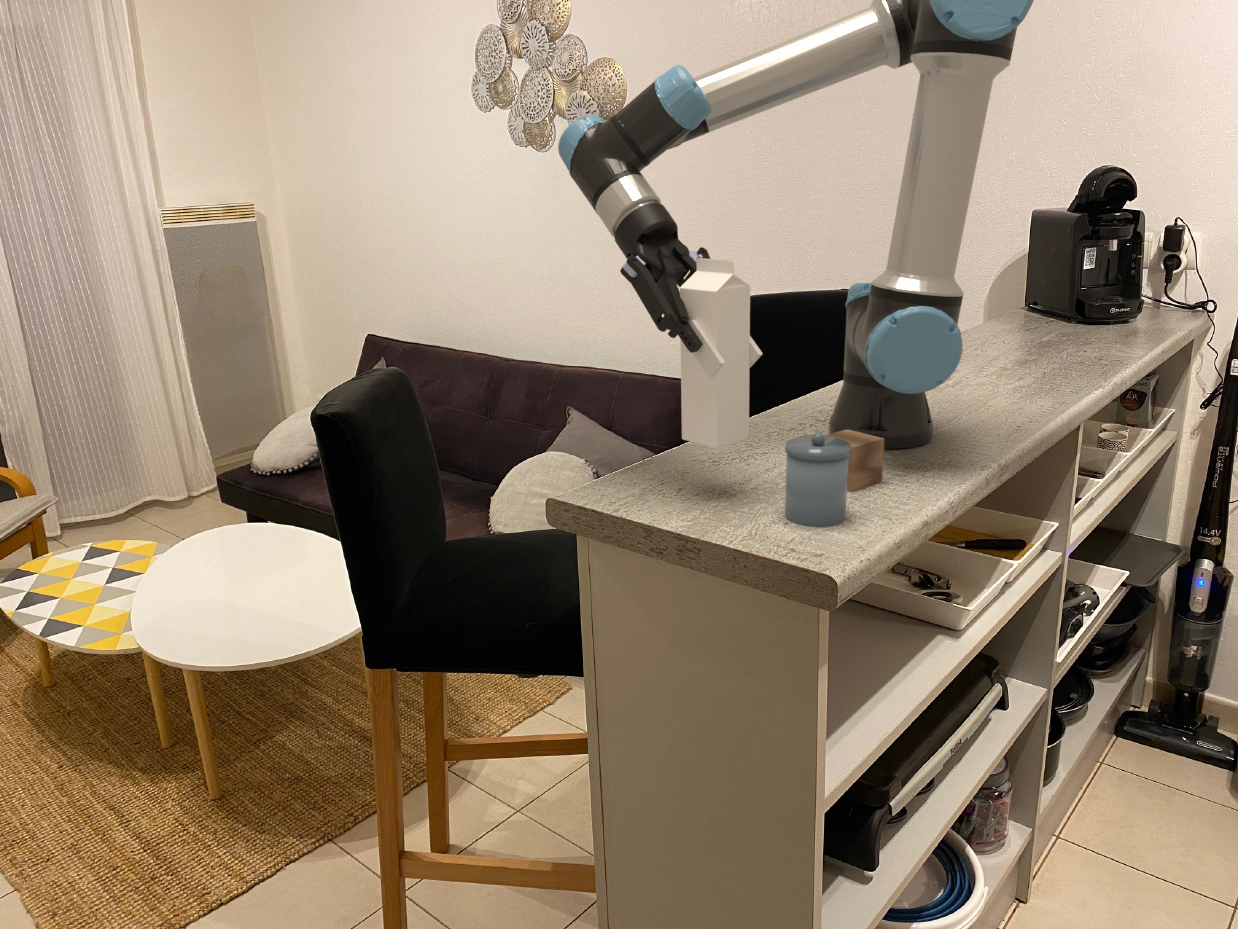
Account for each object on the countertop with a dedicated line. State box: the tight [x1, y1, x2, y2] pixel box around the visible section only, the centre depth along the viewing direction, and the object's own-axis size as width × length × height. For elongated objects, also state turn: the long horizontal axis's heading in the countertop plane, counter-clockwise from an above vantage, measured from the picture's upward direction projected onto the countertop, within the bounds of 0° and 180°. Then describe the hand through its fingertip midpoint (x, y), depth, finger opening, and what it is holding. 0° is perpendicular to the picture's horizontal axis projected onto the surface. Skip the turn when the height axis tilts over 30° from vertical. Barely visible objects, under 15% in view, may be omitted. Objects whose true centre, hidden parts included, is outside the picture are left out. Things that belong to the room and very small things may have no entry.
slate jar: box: [784, 432, 851, 528], centre depth 111 cm, size 7×7×10 cm
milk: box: [679, 258, 751, 449], centre depth 115 cm, size 6×6×22 cm
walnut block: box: [823, 429, 885, 493], centre depth 123 cm, size 6×6×6 cm
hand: (736, 365), depth 113 cm, fingers closed on milk, 6 cm apart
